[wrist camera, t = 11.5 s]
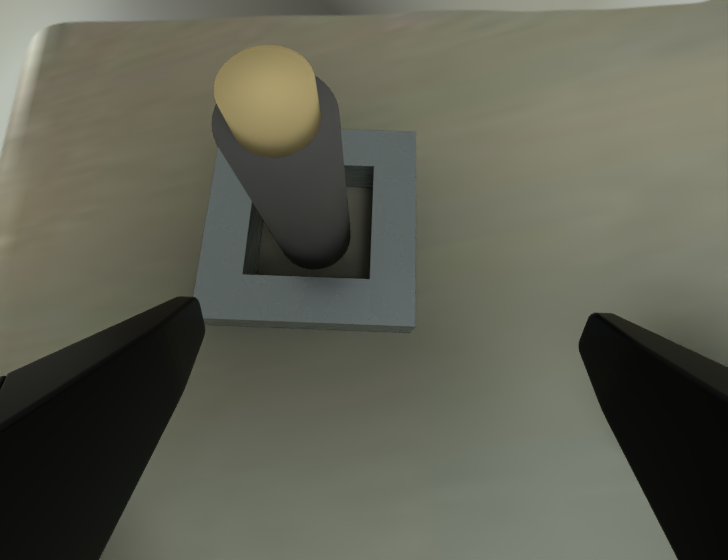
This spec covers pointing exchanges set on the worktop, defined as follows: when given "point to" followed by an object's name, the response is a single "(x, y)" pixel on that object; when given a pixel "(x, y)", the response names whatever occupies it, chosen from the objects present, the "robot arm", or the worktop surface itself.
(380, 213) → the housing
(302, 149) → the plug
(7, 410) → the robot arm
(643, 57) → the worktop surface
